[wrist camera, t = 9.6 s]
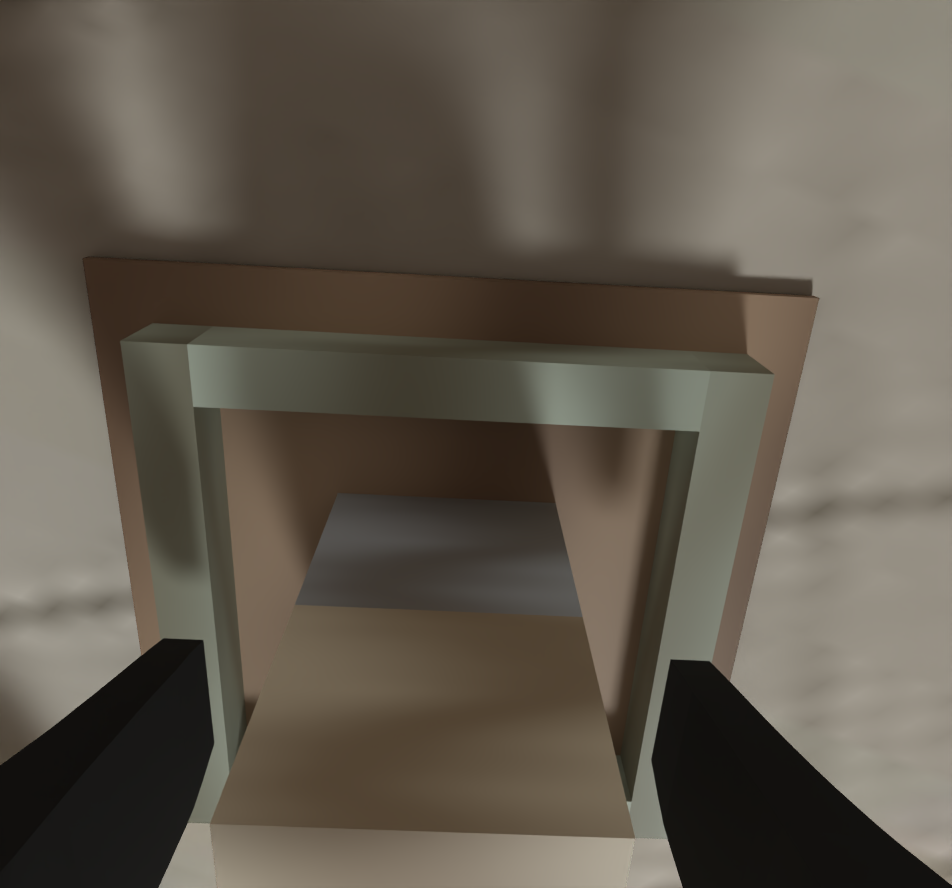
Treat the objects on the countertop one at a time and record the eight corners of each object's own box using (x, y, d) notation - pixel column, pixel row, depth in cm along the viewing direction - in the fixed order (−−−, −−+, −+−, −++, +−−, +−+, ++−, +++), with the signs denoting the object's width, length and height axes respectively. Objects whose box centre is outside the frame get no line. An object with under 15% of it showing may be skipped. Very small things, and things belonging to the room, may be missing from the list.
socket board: (813, 295, 12) (855, 313, 11) (693, 817, 17) (712, 874, 15) (87, 256, 12) (40, 269, 10) (167, 799, 16) (140, 855, 15)
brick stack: (555, 503, 13) (635, 839, 7) (536, 676, 15) (587, 1086, 8) (338, 493, 13) (209, 824, 7) (341, 669, 15) (238, 1079, 8)
